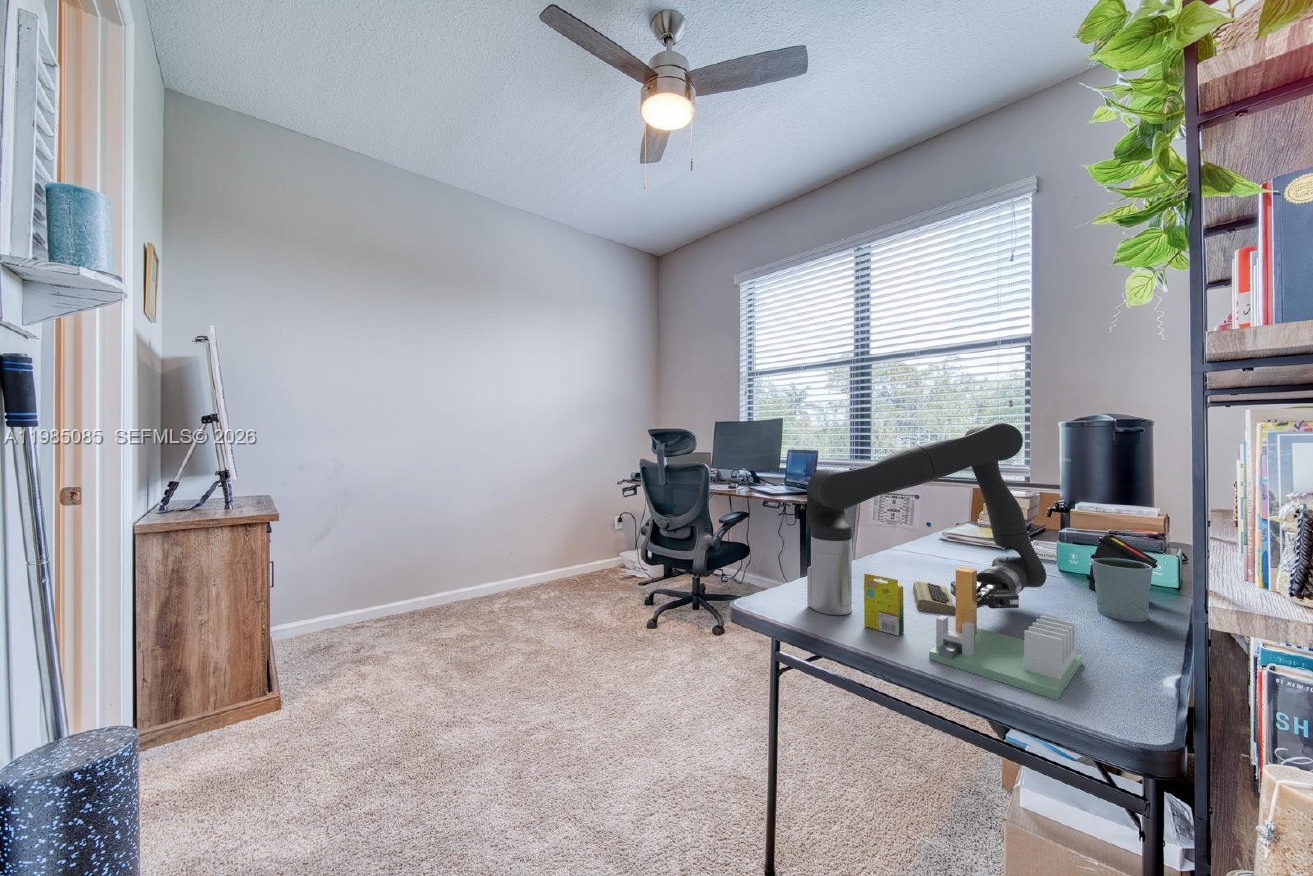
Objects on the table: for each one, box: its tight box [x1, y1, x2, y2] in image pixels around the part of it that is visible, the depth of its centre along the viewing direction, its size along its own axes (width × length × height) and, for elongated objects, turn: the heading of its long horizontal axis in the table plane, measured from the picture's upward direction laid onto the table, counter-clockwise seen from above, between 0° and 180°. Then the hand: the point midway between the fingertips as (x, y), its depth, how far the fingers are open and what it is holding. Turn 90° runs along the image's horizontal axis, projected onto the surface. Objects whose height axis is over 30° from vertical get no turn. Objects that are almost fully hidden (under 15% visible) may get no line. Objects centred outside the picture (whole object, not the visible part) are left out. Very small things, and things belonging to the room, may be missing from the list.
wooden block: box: [939, 566, 978, 659], centre depth 95 cm, size 3×12×14 cm, turn 131°
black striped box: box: [1086, 534, 1159, 591], centre depth 129 cm, size 4×13×15 cm, turn 19°
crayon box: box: [863, 573, 905, 637], centre depth 107 cm, size 7×3×12 cm, turn 43°
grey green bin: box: [1091, 558, 1154, 623], centre depth 115 cm, size 10×10×12 cm
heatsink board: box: [928, 614, 1083, 701], centre depth 93 cm, size 19×19×8 cm
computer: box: [912, 580, 956, 615], centre depth 125 cm, size 16×8×3 cm, turn 156°
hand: (968, 603), depth 99 cm, fingers closed
